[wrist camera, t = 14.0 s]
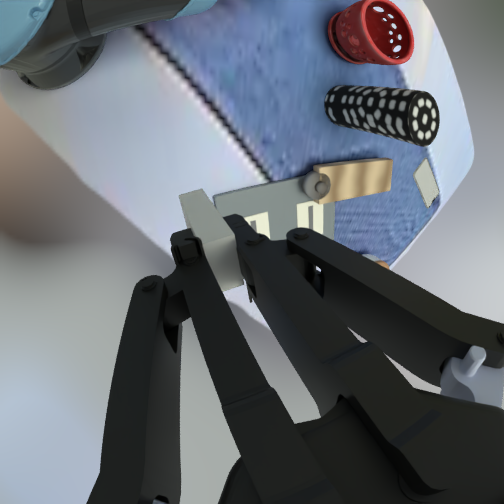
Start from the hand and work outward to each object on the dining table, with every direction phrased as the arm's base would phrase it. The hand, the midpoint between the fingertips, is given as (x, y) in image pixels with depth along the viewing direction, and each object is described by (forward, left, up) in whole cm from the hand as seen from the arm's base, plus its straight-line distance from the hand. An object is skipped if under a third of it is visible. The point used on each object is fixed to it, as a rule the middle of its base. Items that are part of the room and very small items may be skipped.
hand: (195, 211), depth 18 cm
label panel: (+19, +19, -29) cm, 39 cm away
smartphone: (+18, +65, -29) cm, 73 cm away
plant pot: (-18, +37, -29) cm, 50 cm away
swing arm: (+11, +33, -26) cm, 43 cm away
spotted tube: (-3, +34, -29) cm, 44 cm away
